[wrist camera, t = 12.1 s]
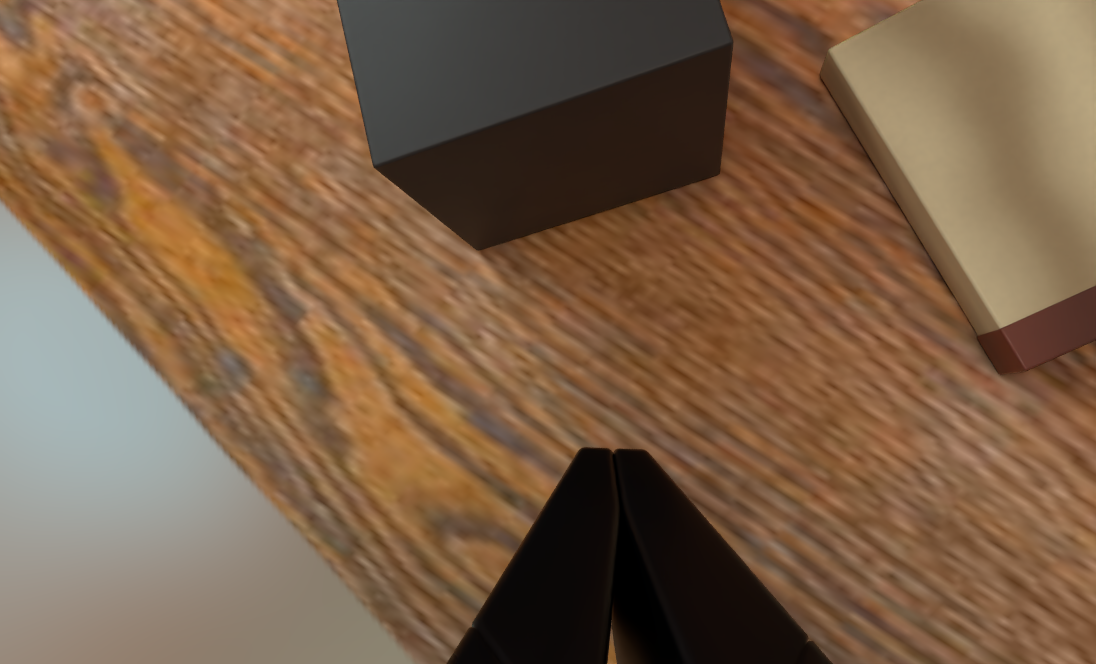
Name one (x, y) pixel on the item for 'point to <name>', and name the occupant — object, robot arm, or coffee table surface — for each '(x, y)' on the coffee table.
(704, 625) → the robot arm
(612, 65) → the block
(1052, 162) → the notebook
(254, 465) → the coffee table surface
